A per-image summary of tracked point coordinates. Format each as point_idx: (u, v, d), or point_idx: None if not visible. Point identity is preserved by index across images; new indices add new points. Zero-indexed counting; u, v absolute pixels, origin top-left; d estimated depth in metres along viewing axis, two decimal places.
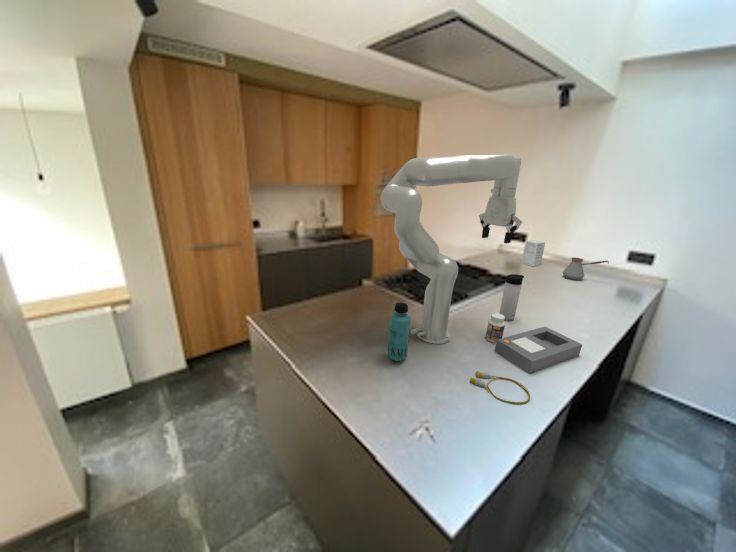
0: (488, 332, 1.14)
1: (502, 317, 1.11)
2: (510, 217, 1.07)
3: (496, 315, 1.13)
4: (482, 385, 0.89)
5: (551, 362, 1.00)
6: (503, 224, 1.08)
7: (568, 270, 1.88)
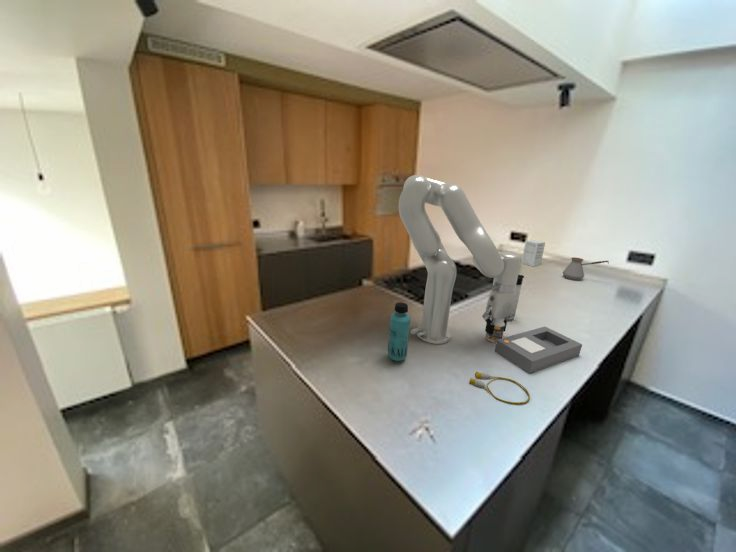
0: None
1: None
2: None
3: None
4: (482, 386, 0.88)
5: (551, 362, 1.00)
6: (512, 314, 1.11)
7: (568, 270, 1.88)
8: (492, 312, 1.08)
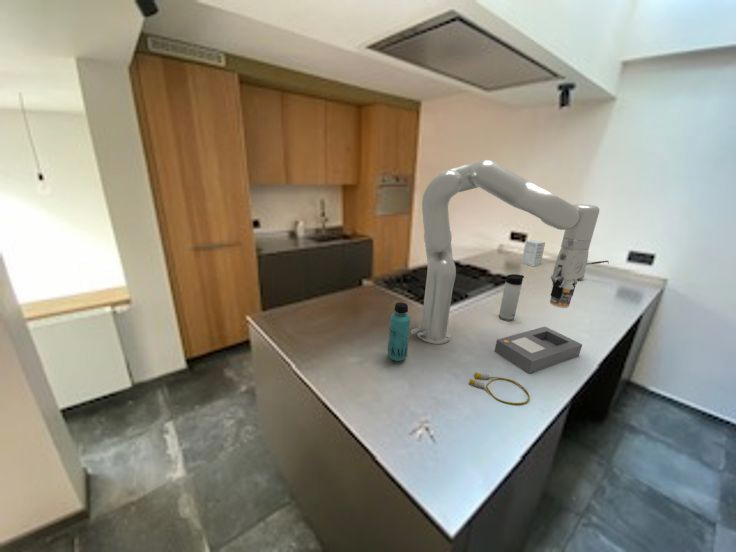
0: None
1: None
2: None
3: None
4: (482, 386, 0.88)
5: (551, 362, 1.00)
6: (582, 276, 1.00)
7: None
8: (563, 272, 0.97)
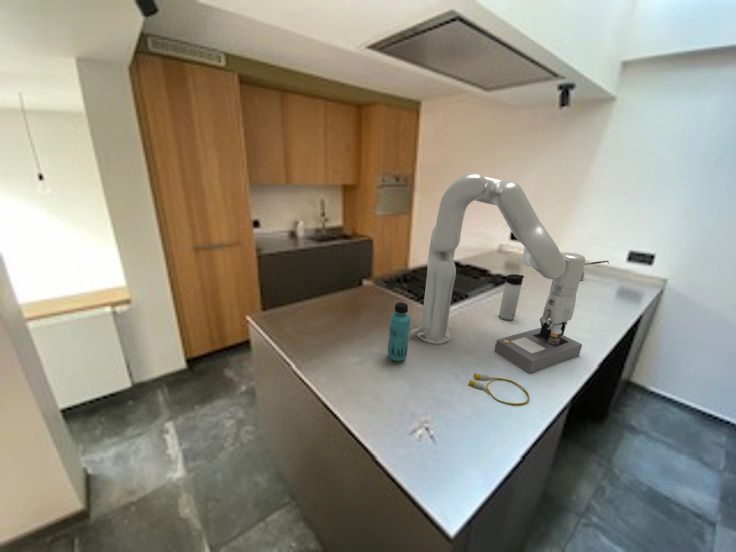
0: (543, 339, 1.08)
1: (559, 324, 1.06)
2: None
3: None
4: (481, 387, 0.88)
5: (551, 362, 1.00)
6: (570, 318, 1.05)
7: None
8: (552, 315, 1.02)
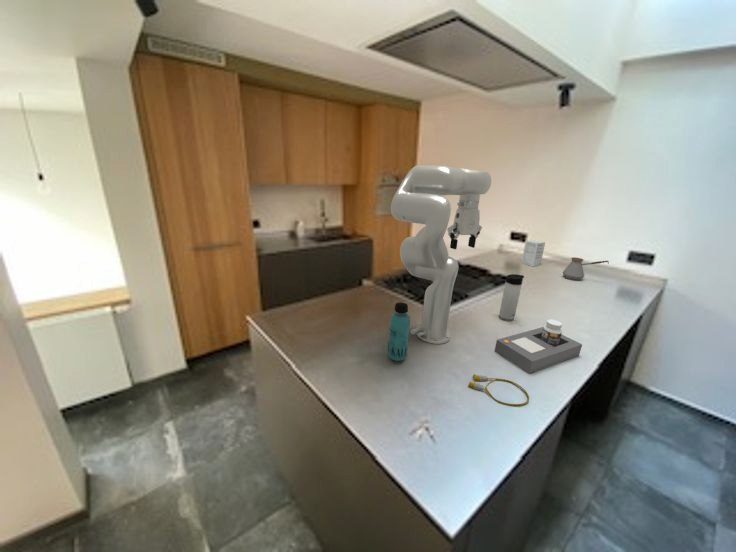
0: (543, 339, 1.08)
1: (559, 324, 1.06)
2: None
3: (552, 322, 1.07)
4: (481, 389, 0.87)
5: (551, 362, 1.00)
6: (476, 232, 1.22)
7: (568, 270, 1.88)
8: (458, 225, 1.19)
